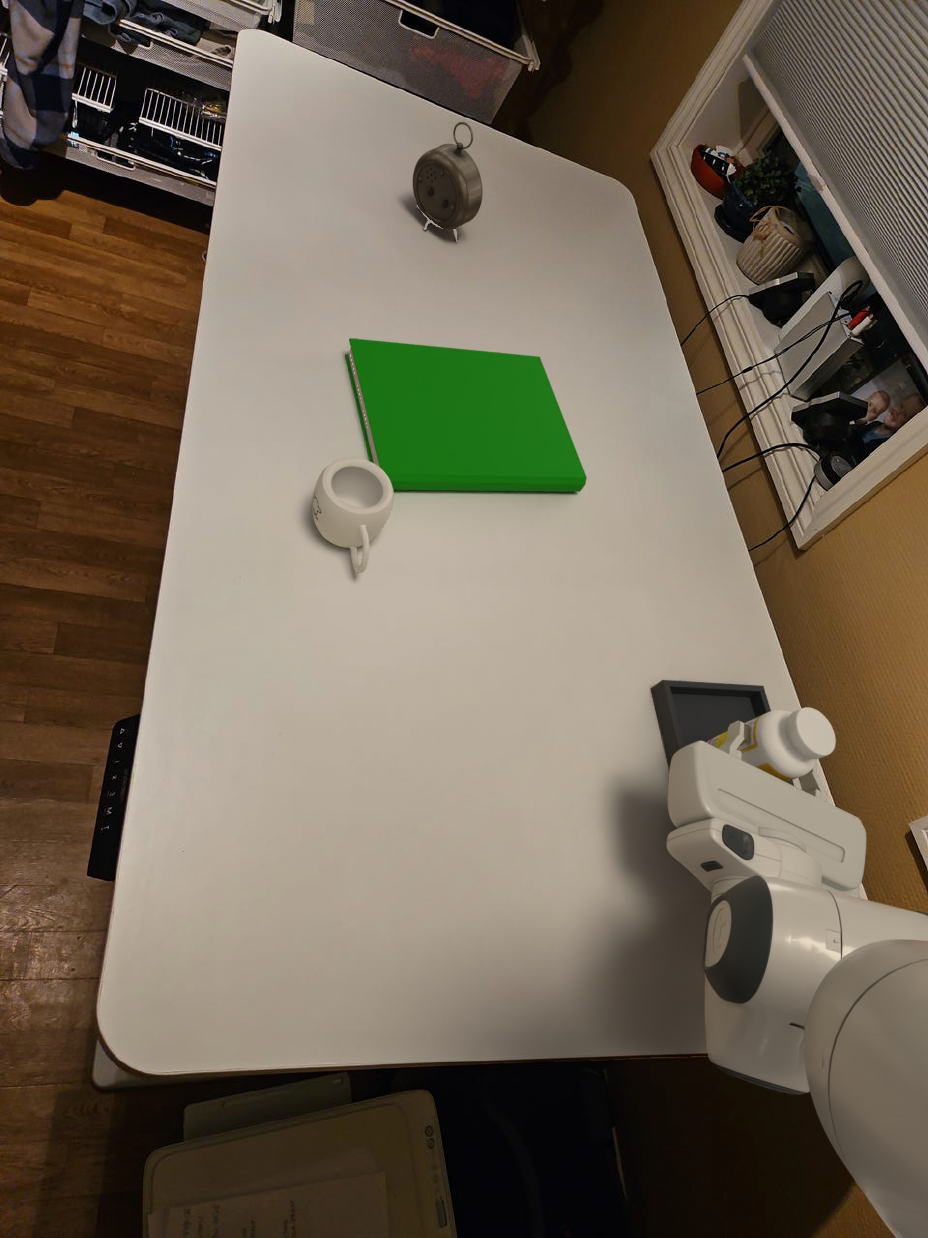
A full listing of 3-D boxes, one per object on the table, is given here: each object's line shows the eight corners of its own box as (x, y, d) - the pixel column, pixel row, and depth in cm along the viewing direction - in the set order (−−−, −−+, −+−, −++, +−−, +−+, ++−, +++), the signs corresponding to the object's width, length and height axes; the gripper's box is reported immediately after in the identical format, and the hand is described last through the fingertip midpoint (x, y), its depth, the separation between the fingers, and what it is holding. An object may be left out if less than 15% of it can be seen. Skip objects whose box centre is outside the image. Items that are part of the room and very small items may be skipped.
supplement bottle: (757, 791, 77) (856, 757, 67) (714, 807, 74) (812, 775, 64) (729, 732, 80) (821, 691, 69) (687, 746, 76) (776, 705, 66)
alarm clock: (467, 243, 117) (505, 142, 103) (447, 253, 114) (483, 150, 100) (418, 202, 118) (449, 96, 104) (397, 210, 115) (426, 102, 101)
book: (345, 355, 95) (349, 337, 93) (531, 372, 106) (539, 356, 104) (377, 493, 86) (383, 477, 83) (577, 494, 97) (588, 480, 95)
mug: (300, 496, 82) (311, 451, 76) (372, 496, 85) (388, 452, 79) (318, 587, 77) (331, 547, 71) (393, 583, 81) (412, 544, 74)
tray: (797, 854, 81) (814, 849, 79) (689, 858, 76) (704, 854, 74) (749, 693, 90) (763, 685, 88) (650, 688, 86) (662, 679, 83)
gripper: (888, 917, 63) (880, 774, 71) (695, 827, 59) (710, 687, 67) (830, 924, 68) (829, 790, 76) (650, 841, 65) (668, 710, 72)
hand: (772, 741), depth 71 cm, fingers closed on supplement bottle, 6 cm apart
